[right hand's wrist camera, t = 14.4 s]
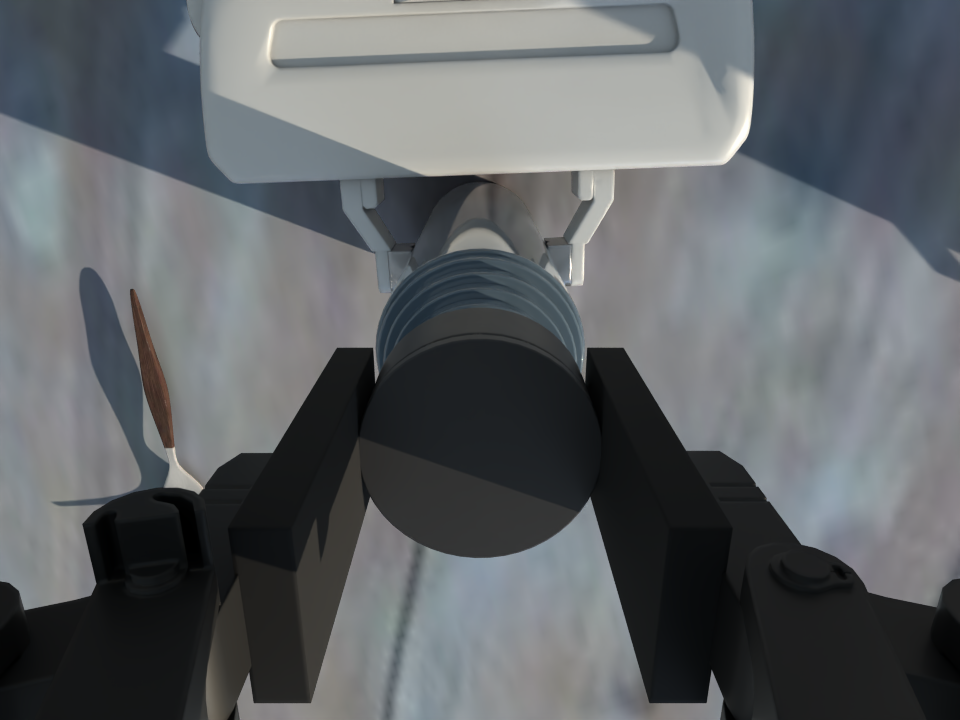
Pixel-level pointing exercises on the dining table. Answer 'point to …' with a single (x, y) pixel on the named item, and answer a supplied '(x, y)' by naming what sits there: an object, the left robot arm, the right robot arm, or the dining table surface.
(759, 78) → the dining table surface
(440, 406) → the cap
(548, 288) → the bottle
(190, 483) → the fork
